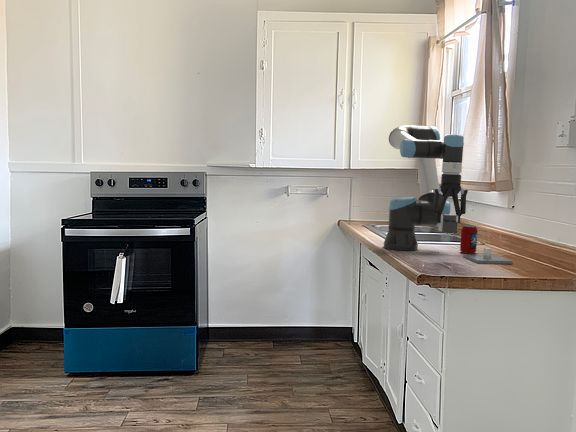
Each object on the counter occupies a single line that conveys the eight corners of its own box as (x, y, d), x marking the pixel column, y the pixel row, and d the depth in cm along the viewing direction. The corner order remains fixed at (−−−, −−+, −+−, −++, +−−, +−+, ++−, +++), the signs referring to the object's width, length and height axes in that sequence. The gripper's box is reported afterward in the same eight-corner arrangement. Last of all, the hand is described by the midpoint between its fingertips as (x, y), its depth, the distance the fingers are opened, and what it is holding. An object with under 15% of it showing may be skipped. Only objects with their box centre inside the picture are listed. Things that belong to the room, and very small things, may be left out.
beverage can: (476, 254, 218) (478, 226, 217) (459, 253, 220) (461, 225, 219) (475, 252, 224) (477, 225, 223) (459, 250, 226) (461, 224, 225)
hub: (463, 257, 210) (463, 245, 209) (495, 257, 210) (496, 245, 210) (477, 263, 196) (478, 250, 195) (512, 264, 196) (513, 251, 196)
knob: (438, 231, 206) (440, 213, 205) (451, 231, 206) (453, 213, 206) (443, 232, 201) (444, 214, 200) (456, 233, 201) (458, 215, 200)
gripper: (431, 173, 197) (428, 232, 199) (477, 174, 198) (473, 233, 200) (425, 172, 204) (422, 229, 207) (470, 174, 205) (466, 230, 208)
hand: (447, 231), depth 204 cm, fingers closed on knob, 5 cm apart
